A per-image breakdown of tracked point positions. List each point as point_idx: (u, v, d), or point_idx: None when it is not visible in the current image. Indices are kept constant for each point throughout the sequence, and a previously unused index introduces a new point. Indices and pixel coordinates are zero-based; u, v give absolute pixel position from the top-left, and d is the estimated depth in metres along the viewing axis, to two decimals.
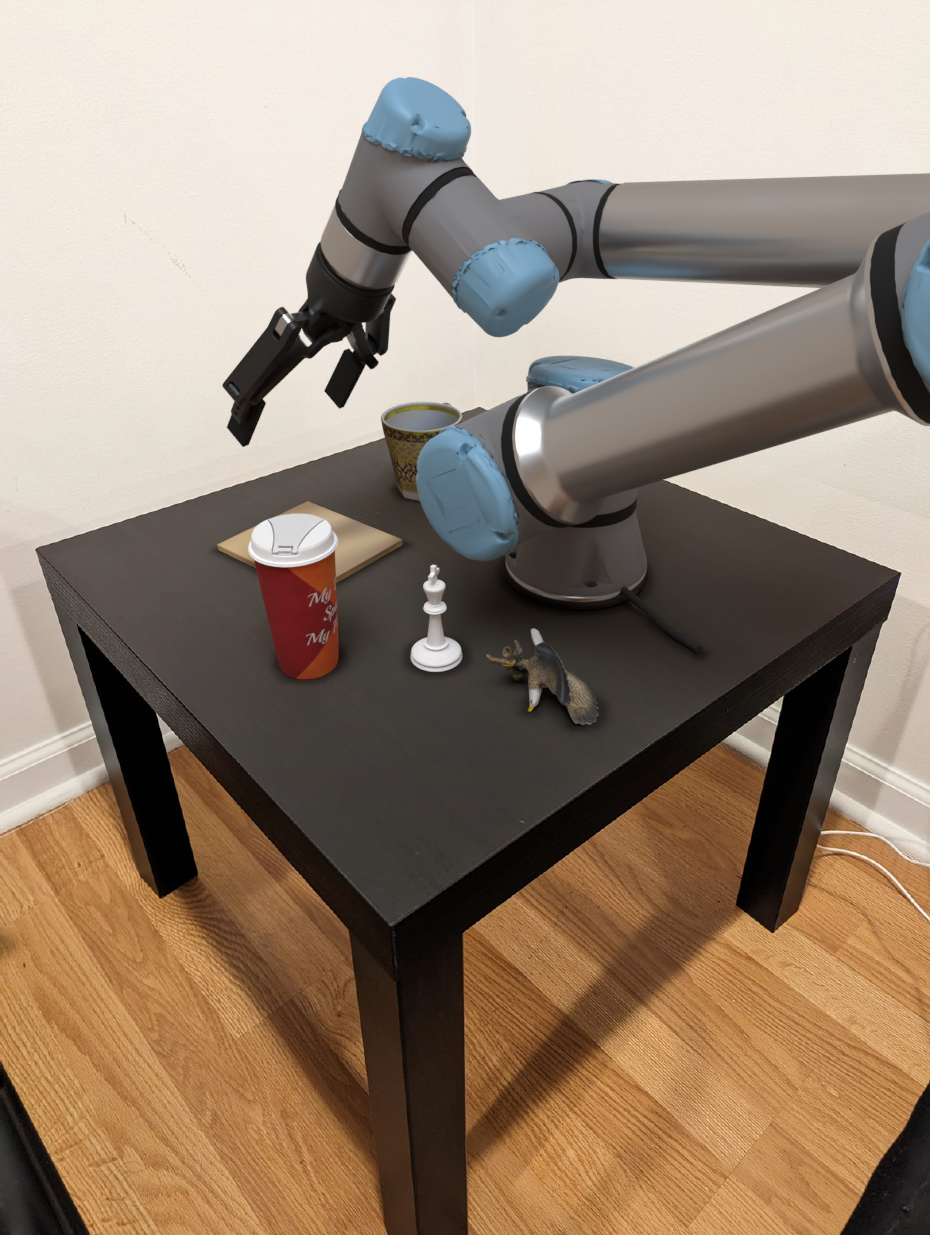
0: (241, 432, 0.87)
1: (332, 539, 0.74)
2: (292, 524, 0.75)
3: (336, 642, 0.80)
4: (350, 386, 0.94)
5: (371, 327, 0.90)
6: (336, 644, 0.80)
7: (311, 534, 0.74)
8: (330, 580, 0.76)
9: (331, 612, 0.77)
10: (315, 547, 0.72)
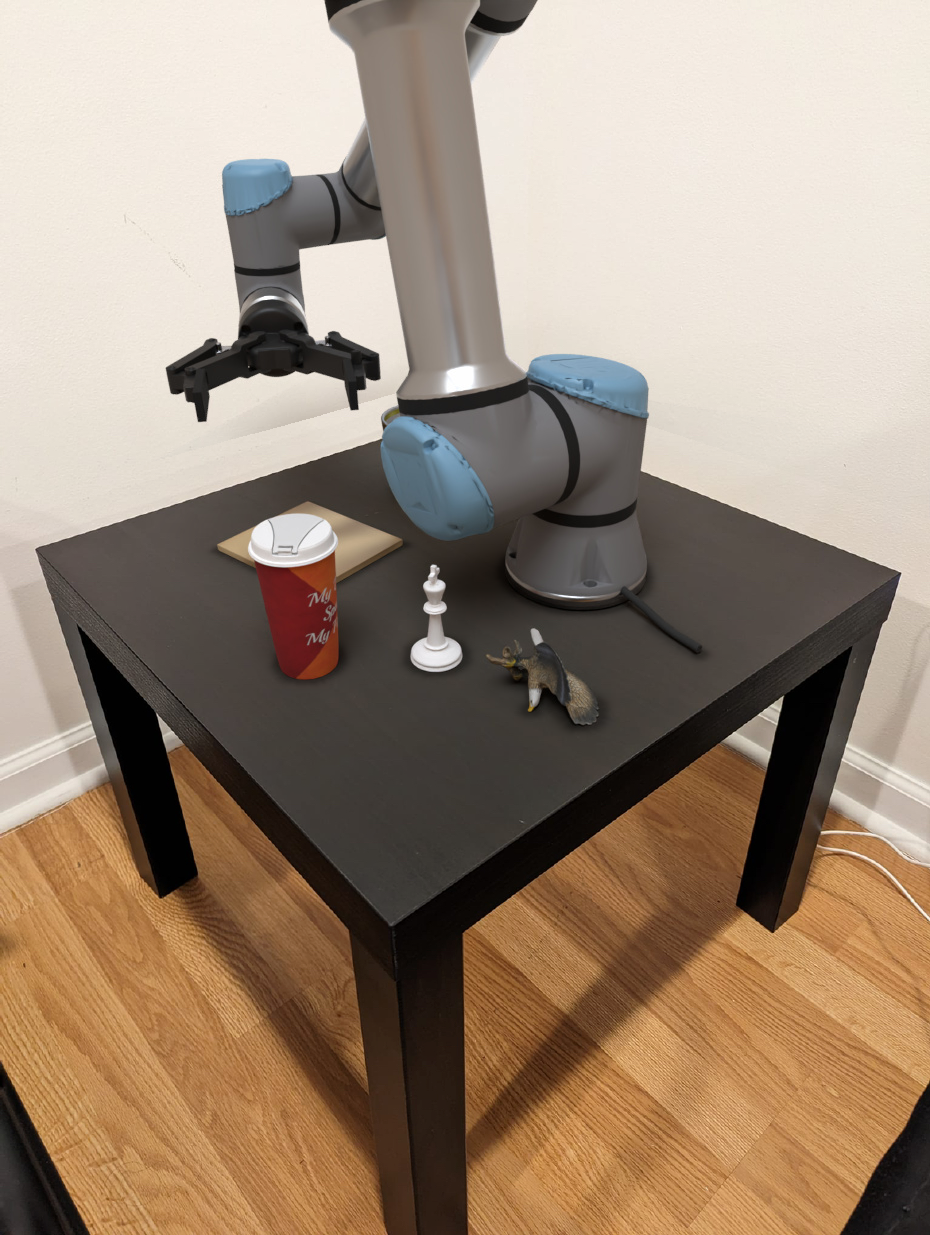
0: None
1: (332, 539, 0.74)
2: (292, 524, 0.75)
3: (336, 642, 0.80)
4: (344, 368, 0.81)
5: None
6: (336, 644, 0.80)
7: (311, 534, 0.74)
8: (330, 580, 0.76)
9: (331, 612, 0.77)
10: (315, 547, 0.72)
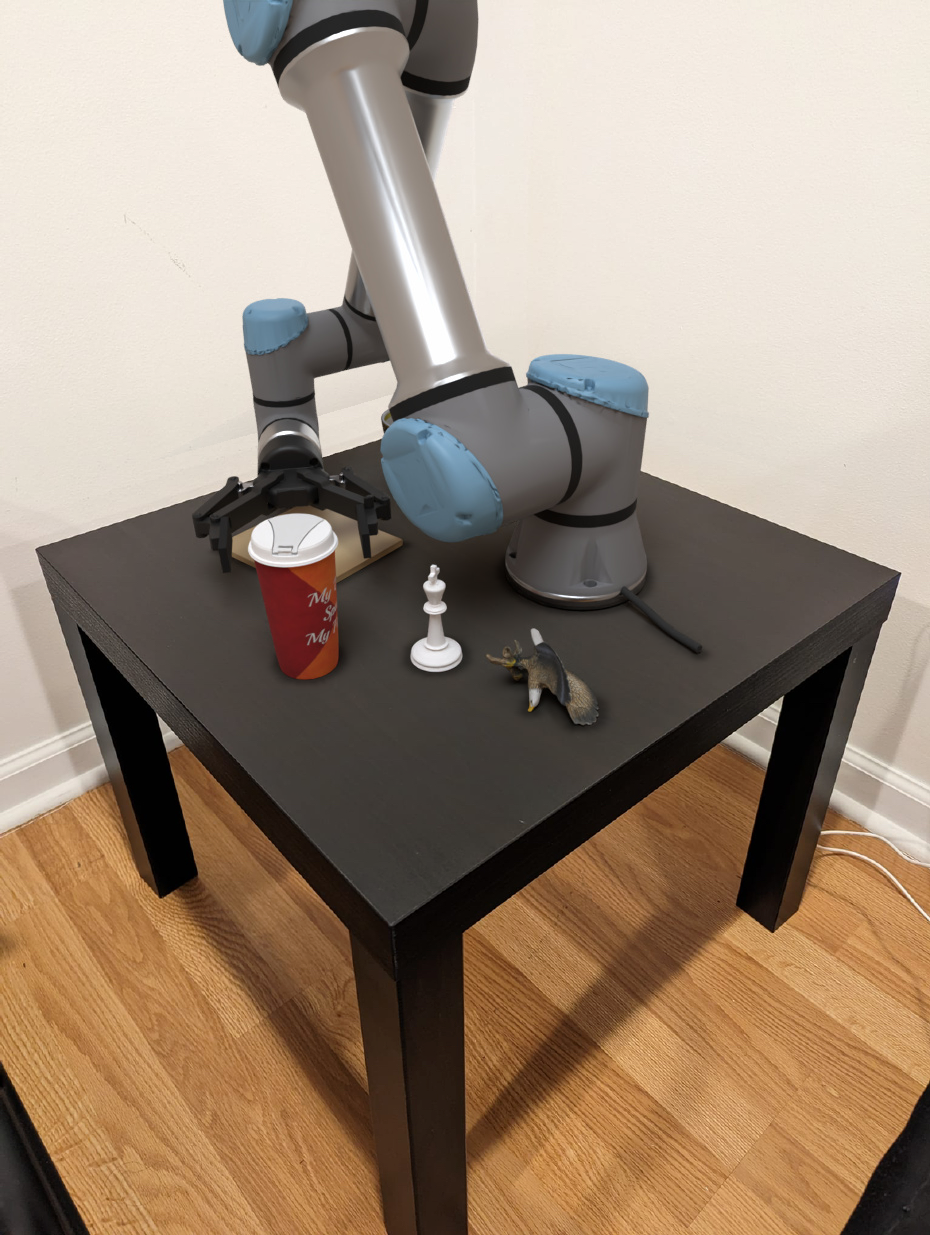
0: None
1: (332, 539, 0.74)
2: (292, 524, 0.75)
3: (336, 642, 0.80)
4: (358, 517, 0.87)
5: None
6: (336, 644, 0.80)
7: (311, 534, 0.74)
8: (330, 580, 0.76)
9: (331, 612, 0.77)
10: (315, 547, 0.72)
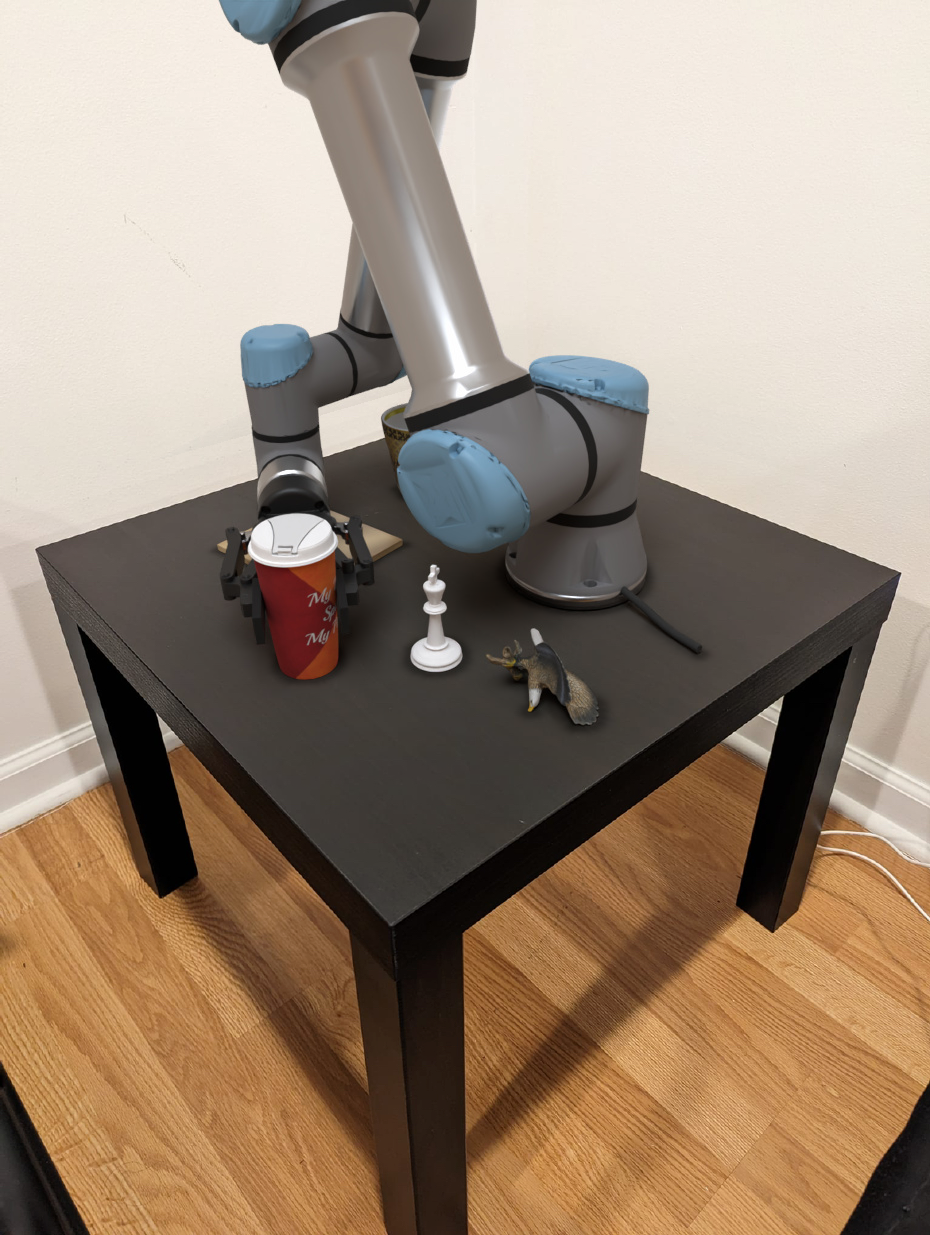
0: None
1: (332, 539, 0.74)
2: (292, 524, 0.75)
3: (336, 642, 0.80)
4: (336, 585, 0.77)
5: (354, 557, 0.84)
6: (336, 644, 0.80)
7: (311, 534, 0.74)
8: (330, 580, 0.76)
9: (331, 612, 0.77)
10: (315, 547, 0.72)
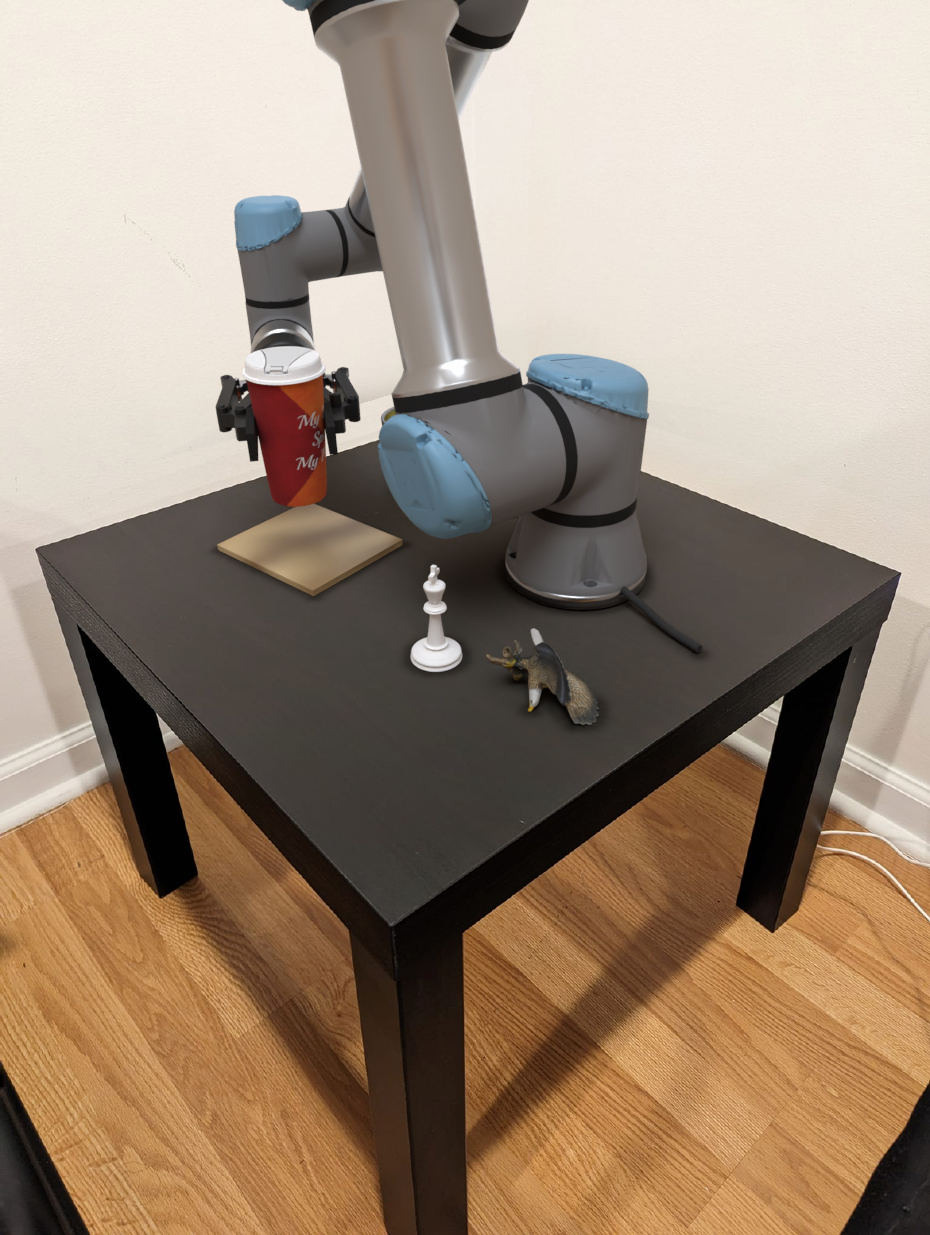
0: None
1: (320, 365, 0.80)
2: (283, 352, 0.81)
3: (324, 472, 0.86)
4: (324, 412, 0.82)
5: (341, 399, 0.90)
6: (324, 474, 0.86)
7: (300, 359, 0.80)
8: (319, 406, 0.81)
9: (319, 439, 0.83)
10: (304, 367, 0.78)
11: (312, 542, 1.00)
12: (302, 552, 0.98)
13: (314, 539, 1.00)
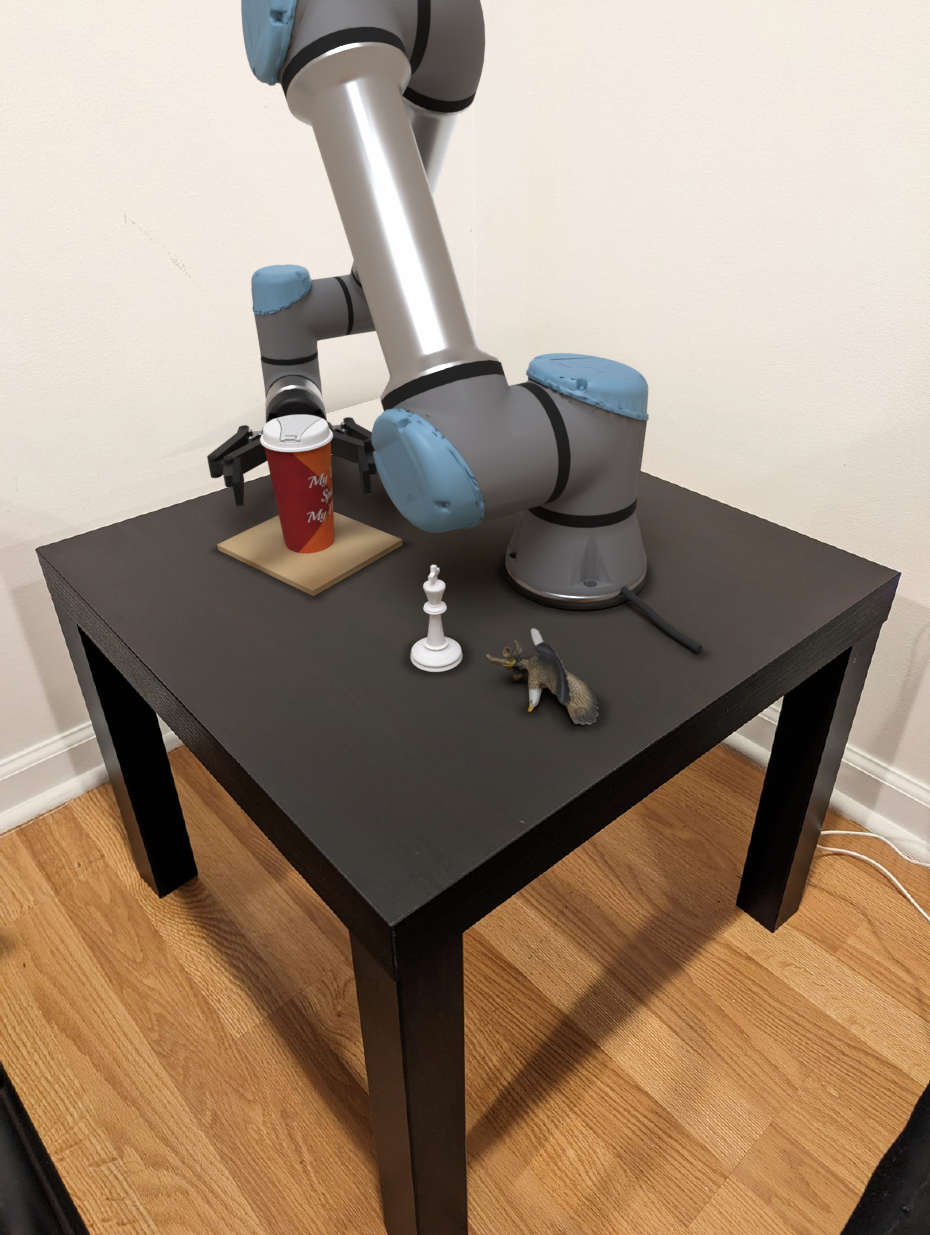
0: None
1: (328, 432, 0.92)
2: (296, 421, 0.93)
3: (332, 523, 0.98)
4: (359, 457, 0.96)
5: None
6: (332, 525, 0.98)
7: (311, 428, 0.91)
8: (327, 467, 0.93)
9: (327, 495, 0.95)
10: (314, 436, 0.90)
11: None
12: None
13: None
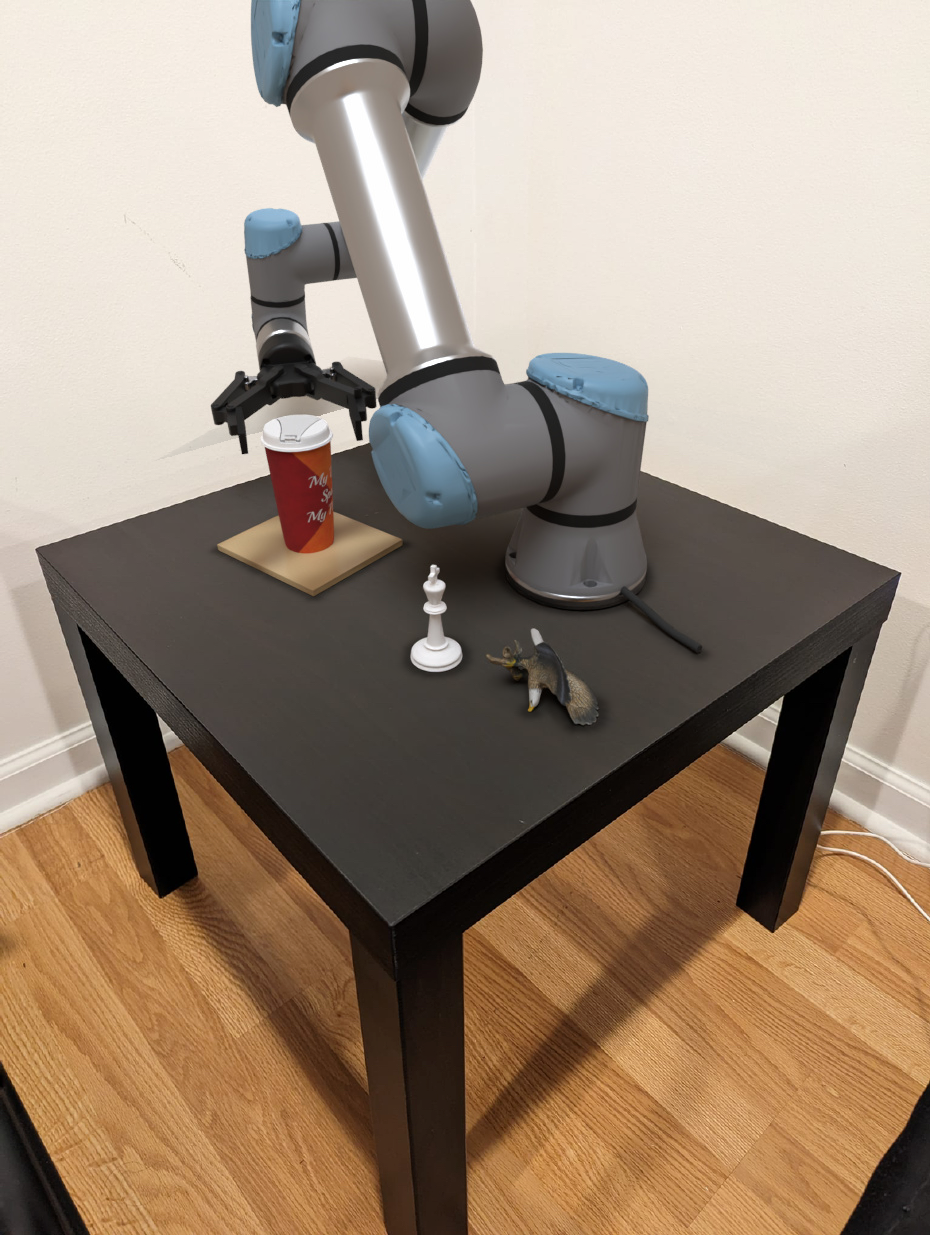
0: None
1: (328, 432, 0.92)
2: (296, 421, 0.93)
3: (332, 523, 0.98)
4: (350, 406, 1.05)
5: None
6: (332, 525, 0.98)
7: (311, 427, 0.91)
8: (327, 467, 0.93)
9: (327, 495, 0.95)
10: (314, 436, 0.90)
11: None
12: None
13: None
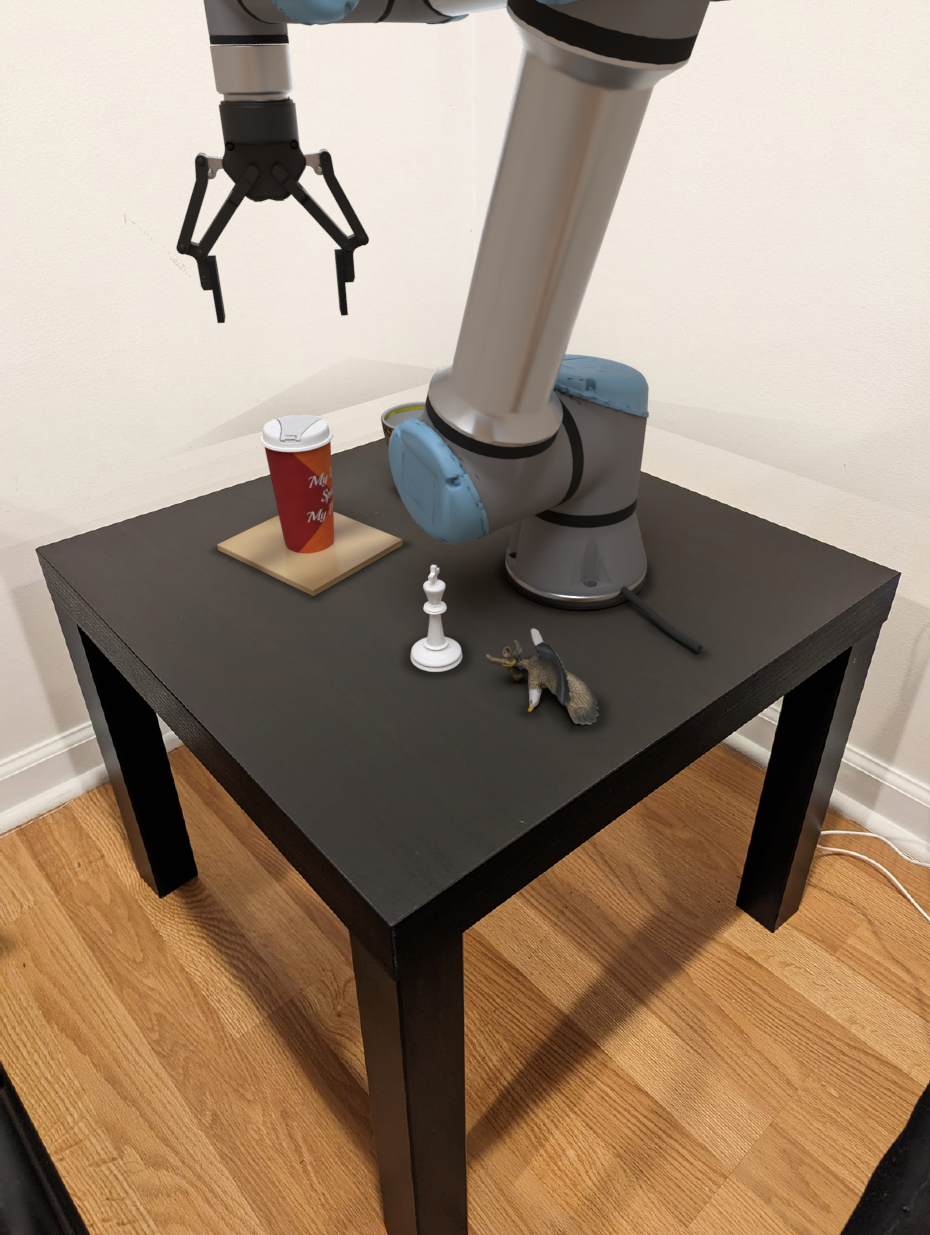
0: None
1: (328, 432, 0.92)
2: (296, 421, 0.93)
3: (332, 523, 0.98)
4: (338, 281, 0.96)
5: None
6: (332, 525, 0.98)
7: (311, 427, 0.91)
8: (327, 467, 0.93)
9: (327, 495, 0.95)
10: (314, 436, 0.90)
11: None
12: None
13: None
